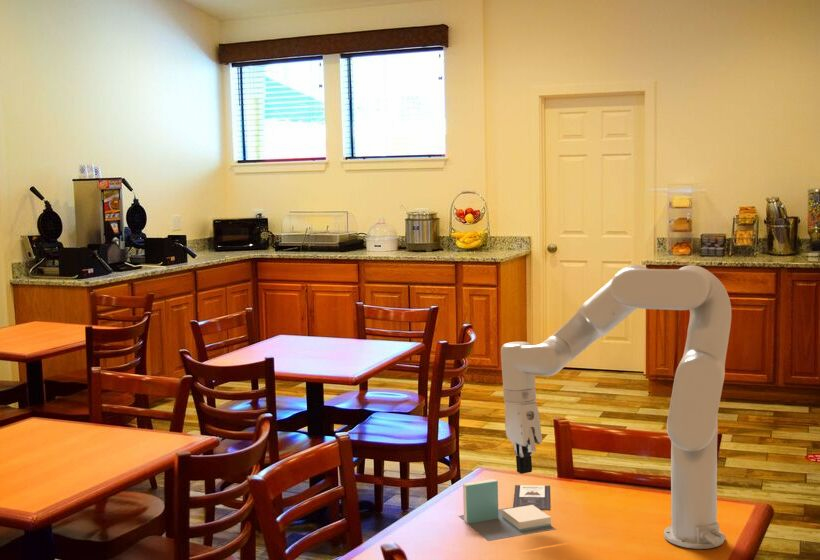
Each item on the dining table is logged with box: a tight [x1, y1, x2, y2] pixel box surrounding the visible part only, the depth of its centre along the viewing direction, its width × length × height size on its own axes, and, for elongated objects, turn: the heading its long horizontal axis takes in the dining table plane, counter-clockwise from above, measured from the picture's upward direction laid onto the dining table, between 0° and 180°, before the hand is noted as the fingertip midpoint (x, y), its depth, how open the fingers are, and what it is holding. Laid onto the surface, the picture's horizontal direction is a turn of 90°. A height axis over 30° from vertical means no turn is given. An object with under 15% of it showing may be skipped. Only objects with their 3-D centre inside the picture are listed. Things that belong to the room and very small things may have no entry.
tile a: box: [502, 505, 552, 531], centre depth 206 cm, size 2×8×9 cm
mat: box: [458, 506, 556, 542], centre depth 206 cm, size 17×17×1 cm
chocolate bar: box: [512, 484, 551, 511], centre depth 223 cm, size 9×1×18 cm
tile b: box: [462, 478, 499, 524], centre depth 208 cm, size 2×8×9 cm, turn 110°
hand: (524, 471), depth 207 cm, fingers closed
